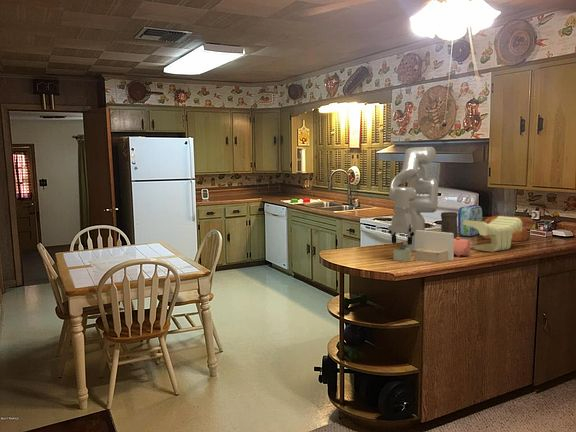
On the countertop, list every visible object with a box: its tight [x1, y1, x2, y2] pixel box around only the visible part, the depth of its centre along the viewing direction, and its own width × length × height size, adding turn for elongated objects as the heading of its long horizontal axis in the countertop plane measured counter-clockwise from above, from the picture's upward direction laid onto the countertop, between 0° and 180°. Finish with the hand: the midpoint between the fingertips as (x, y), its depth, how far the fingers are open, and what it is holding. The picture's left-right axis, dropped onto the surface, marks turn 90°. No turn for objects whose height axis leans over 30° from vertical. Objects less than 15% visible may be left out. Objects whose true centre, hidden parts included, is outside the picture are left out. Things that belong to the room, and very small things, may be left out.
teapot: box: [454, 236, 472, 258], centre depth 263 cm, size 14×12×10 cm
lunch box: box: [457, 204, 483, 237], centre depth 336 cm, size 26×11×21 cm, turn 141°
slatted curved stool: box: [463, 215, 522, 253], centre depth 277 cm, size 30×16×18 cm, turn 118°
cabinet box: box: [393, 243, 412, 263], centre depth 255 cm, size 6×7×8 cm
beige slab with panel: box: [413, 230, 455, 264], centre depth 255 cm, size 22×12×14 cm, turn 42°
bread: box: [481, 215, 529, 242], centre depth 314 cm, size 14×26×16 cm, turn 45°
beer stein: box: [440, 211, 458, 239], centre depth 306 cm, size 15×11×20 cm
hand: (401, 243), depth 254 cm, fingers open, 9 cm apart
